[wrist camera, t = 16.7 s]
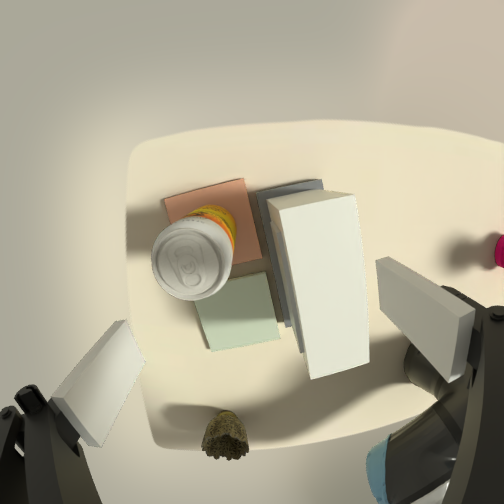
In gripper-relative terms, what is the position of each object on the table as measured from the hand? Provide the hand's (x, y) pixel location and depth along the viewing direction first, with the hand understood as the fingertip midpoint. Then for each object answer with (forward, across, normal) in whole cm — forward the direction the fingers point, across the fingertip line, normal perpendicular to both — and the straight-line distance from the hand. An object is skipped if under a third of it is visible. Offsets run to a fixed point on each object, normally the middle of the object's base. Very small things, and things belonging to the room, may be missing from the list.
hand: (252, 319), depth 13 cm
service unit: (+22, -6, +4) cm, 23 cm away
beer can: (+21, +4, -2) cm, 22 cm away
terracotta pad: (+22, +4, -2) cm, 23 cm away
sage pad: (+22, +4, +10) cm, 25 cm away
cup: (+23, +12, +30) cm, 39 cm away
